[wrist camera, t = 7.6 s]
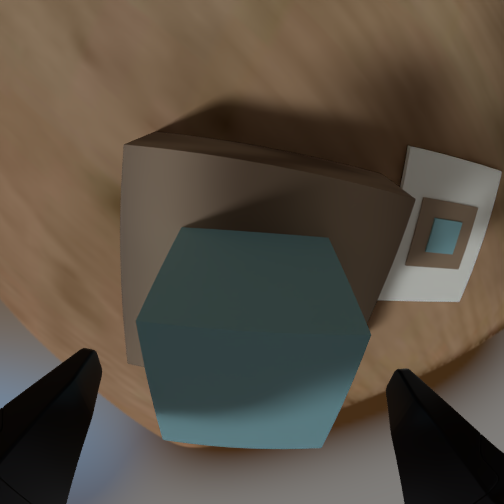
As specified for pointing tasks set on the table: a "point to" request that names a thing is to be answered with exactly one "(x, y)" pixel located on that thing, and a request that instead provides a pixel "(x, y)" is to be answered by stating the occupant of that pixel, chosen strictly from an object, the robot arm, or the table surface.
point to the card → (441, 226)
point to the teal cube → (250, 339)
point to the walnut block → (251, 210)
